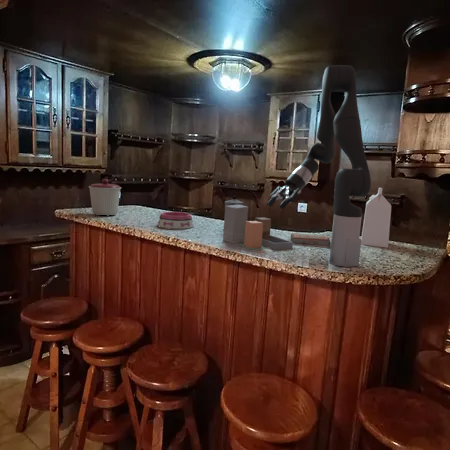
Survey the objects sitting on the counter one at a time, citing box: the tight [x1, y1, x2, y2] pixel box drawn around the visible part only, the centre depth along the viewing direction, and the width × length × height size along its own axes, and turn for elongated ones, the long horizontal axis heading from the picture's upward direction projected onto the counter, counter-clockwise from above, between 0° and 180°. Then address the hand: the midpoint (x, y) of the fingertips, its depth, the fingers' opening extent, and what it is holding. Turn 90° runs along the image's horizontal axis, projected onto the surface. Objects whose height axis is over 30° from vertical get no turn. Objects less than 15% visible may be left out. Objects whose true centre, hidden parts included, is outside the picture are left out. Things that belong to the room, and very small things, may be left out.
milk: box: [360, 187, 392, 248], centre depth 172 cm, size 12×12×26 cm
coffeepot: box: [222, 195, 245, 233], centre depth 183 cm, size 15×9×18 cm, turn 176°
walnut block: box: [254, 217, 272, 241], centre depth 162 cm, size 5×5×10 cm
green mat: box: [237, 243, 268, 251], centre depth 150 cm, size 10×8×1 cm
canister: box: [88, 178, 122, 216], centre depth 215 cm, size 18×18×21 cm
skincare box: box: [222, 204, 249, 244], centre depth 158 cm, size 8×7×16 cm
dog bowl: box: [157, 211, 195, 230], centre depth 191 cm, size 18×19×7 cm
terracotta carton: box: [243, 220, 263, 248], centre depth 149 cm, size 5×5×10 cm
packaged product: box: [287, 232, 331, 250], centre depth 162 cm, size 18×5×10 cm
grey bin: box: [261, 234, 294, 251], centre depth 157 cm, size 20×9×3 cm, turn 28°
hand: (274, 206), depth 152 cm, fingers open, 8 cm apart
